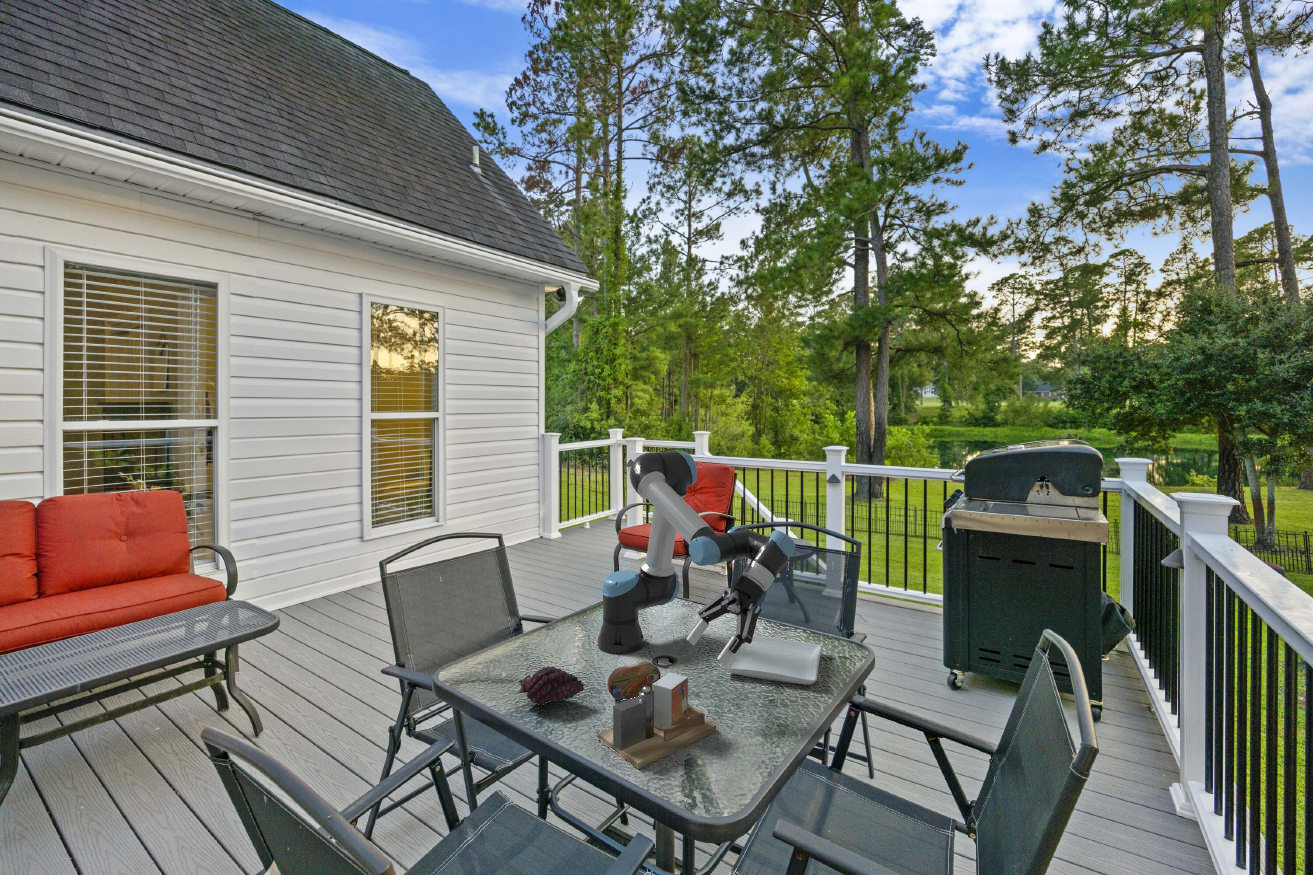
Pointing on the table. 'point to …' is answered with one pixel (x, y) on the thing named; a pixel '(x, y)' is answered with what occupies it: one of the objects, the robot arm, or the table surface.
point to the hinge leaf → (634, 720)
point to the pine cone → (550, 685)
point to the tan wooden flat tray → (664, 739)
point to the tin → (632, 679)
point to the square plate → (776, 660)
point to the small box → (670, 700)
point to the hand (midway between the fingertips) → (704, 652)
